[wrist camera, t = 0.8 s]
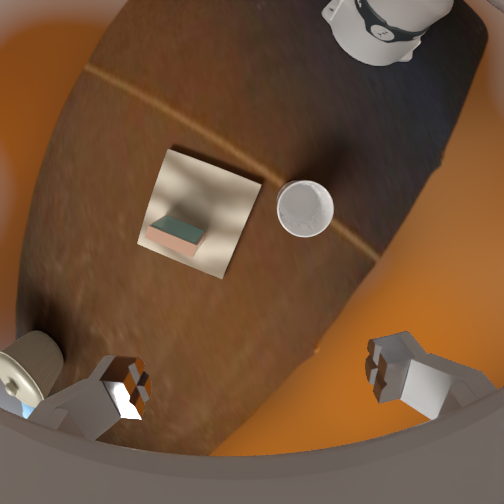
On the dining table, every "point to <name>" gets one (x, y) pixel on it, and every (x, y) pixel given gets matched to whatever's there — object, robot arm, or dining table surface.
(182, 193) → the board
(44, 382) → the canister
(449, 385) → the robot arm
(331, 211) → the white cup
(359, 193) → the dining table surface
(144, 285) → the dining table surface
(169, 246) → the block
